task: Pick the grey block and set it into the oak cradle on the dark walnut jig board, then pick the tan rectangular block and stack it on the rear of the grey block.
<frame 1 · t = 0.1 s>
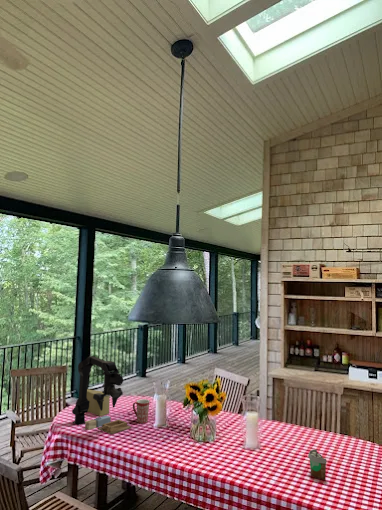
hand: (107, 408, 245), 15 cm above the table, fingers open, 9 cm apart
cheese: (93, 412, 284), on the table
tan rectangular block: (90, 428, 252), on the table
jig: (114, 428, 252), on the table
mug: (140, 421, 268), on the table
food container: (315, 475, 194), on the table
grey block: (102, 425, 259), on the table
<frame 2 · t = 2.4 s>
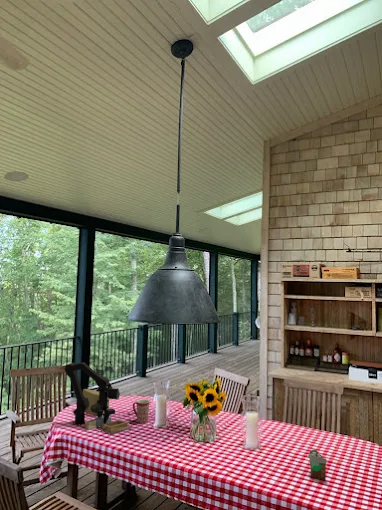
hand: (102, 423, 259), 1 cm above the table, fingers closed on grey block, 5 cm apart
grey block: (102, 424, 259), on the table, touching gripper
everything else where it was.
when the fingers open (4 cm above the table, at t = 6.0 s): grey block drops 2 cm, resting on jig.
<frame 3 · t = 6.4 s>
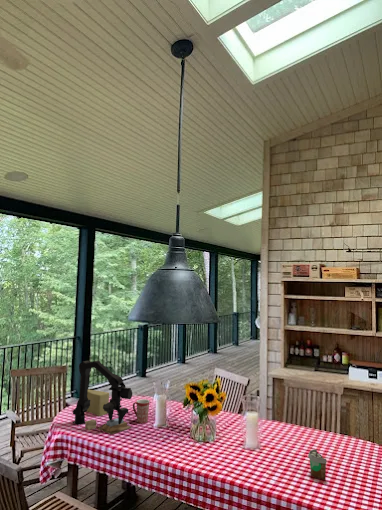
hand: (114, 422, 253), 4 cm above the table, fingers open, 8 cm apart
grey block: (114, 427, 253), point 1 cm above the table, touching jig
everything else where it was.
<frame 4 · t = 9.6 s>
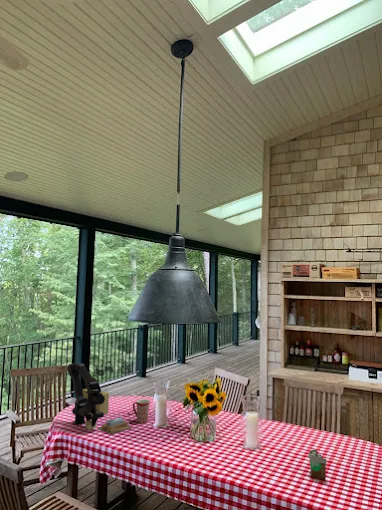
hand: (90, 426, 252), 1 cm above the table, fingers closed on tan rectangular block, 4 cm apart
tan rectangular block: (90, 428, 252), on the table, touching gripper
everything else where it was.
when the fingers open (7 cm above the table, at t = 13.2 s): tan rectangular block stays where it is, resting on grey block.
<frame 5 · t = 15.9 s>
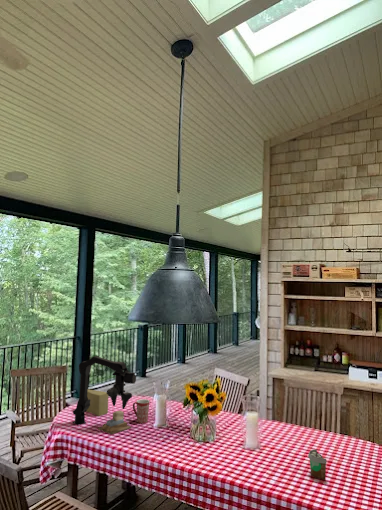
hand: (118, 407, 255), 12 cm above the table, fingers open, 9 cm apart
tan rectangular block: (118, 419, 255), point 5 cm above the table, touching grey block
grey block: (114, 427, 253), point 1 cm above the table, touching jig, tan rectangular block
at the end: grey block 0.2 cm off-centre on the jig, point 0.6 cm above the jig's base; grey block tilted 0°; tan rectangular block 0.3 cm from the target spot on the grey block, point 4.5 cm above the grey block's base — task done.
